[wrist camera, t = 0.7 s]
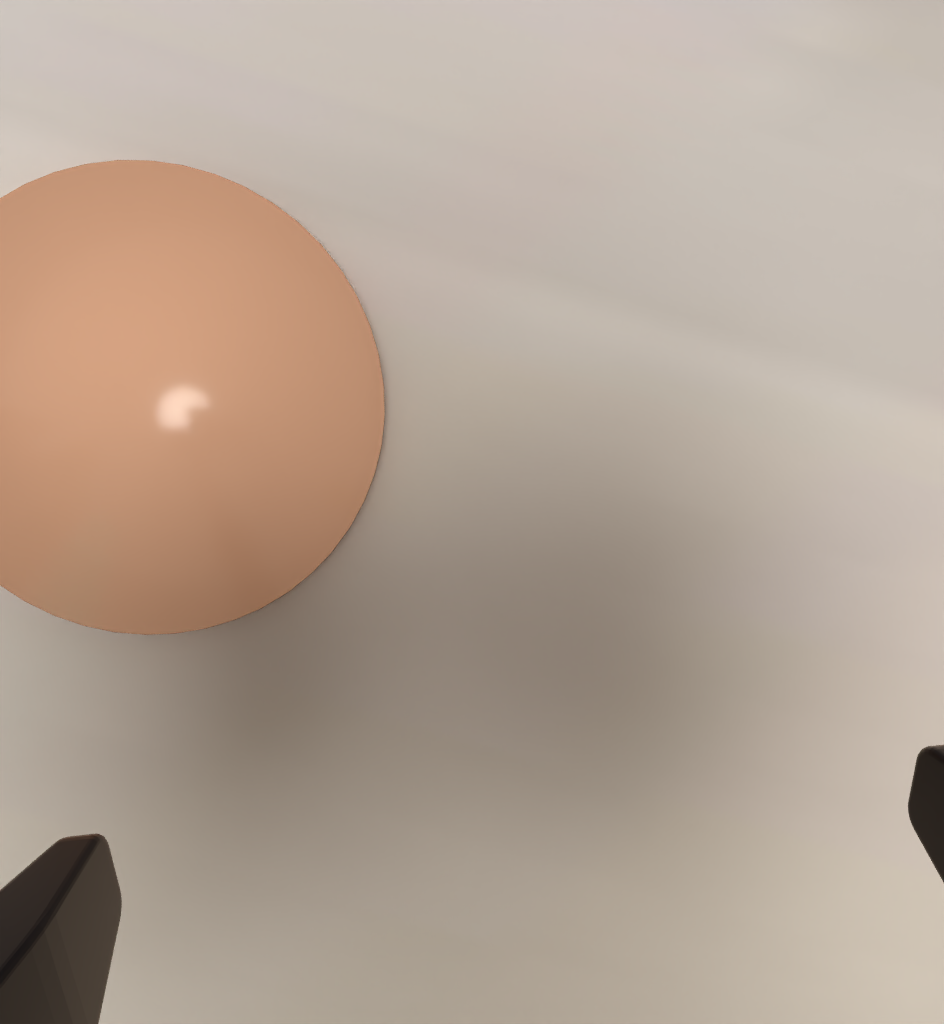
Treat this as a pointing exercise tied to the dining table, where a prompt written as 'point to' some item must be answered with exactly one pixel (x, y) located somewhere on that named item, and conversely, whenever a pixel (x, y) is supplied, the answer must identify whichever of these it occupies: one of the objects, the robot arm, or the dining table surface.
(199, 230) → the coaster
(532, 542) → the dining table surface
